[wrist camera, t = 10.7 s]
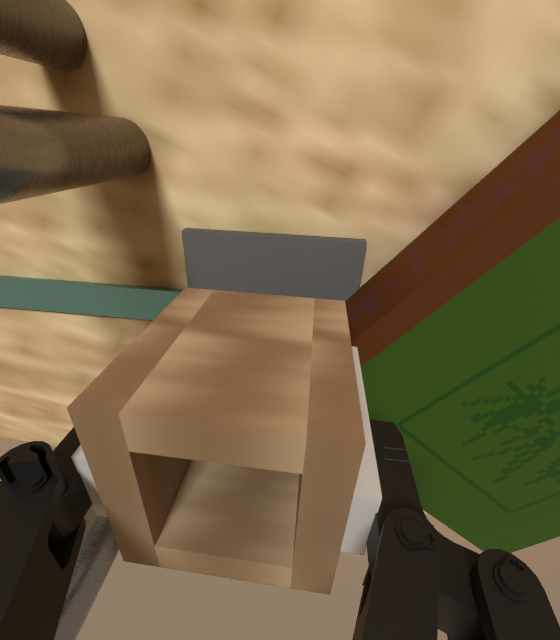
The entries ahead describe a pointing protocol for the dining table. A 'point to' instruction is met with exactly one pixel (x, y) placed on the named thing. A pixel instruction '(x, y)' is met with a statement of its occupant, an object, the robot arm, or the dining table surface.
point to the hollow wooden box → (230, 438)
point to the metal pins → (59, 175)
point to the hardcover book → (476, 352)
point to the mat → (273, 263)
